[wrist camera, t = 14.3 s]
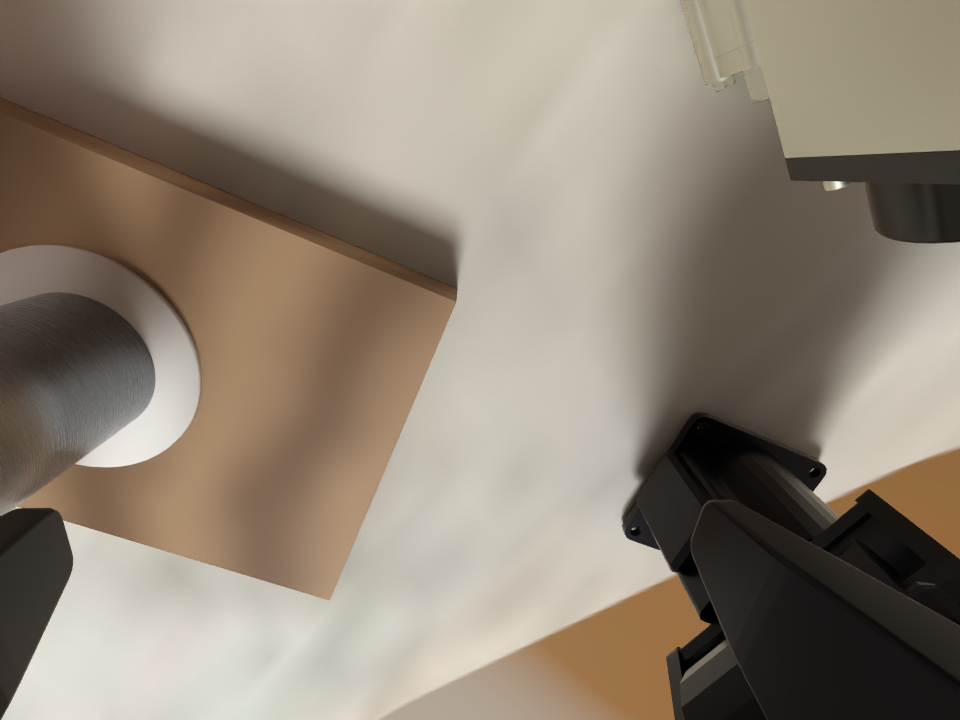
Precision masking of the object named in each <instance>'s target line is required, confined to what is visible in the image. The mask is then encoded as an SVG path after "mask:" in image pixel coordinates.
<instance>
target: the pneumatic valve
mask: <svg viewBox="0 0 960 720" xmlns="http://www.w3.org/2000/svg"><path fill="white" fill-rule="evenodd" d="M681 2H682V5H683V9H684V12H685V15H686V19H687V22H688V26H689V29H690V32H691V36H692V39H693V42H694V46H695V49H696V53H697V56H698V59H699V63H700V66H701V69H702V73H703V76H704V80H705V83H706V85H708V84H712V86H713V85H714V87H715V90H716V92H717V91H720V90H722V89H724V88H726V87H728V86H730V85H732V84H734V83H735V79H734V76H733V75H735V74H736V73H738V72H741V71H743V73H744V77H745V81H746V85H747V88H748V92H749V96H750V99H751V102H752V103H758V102H761V101H764V100H767V99H770V102H771V106H772V110H773V113H774V117H775V121H776V125H777V129H778V133H779V137H780V141H781V144H782V148H783V152H784V156H785V160H786V164H787V168H788V172H789V175H790V179H791V180H798V181H822V182H823V186H824V190H826V191H834V190H838V189H841V188H844V187H846V186H848V185H849V184H851V182H865V187H866V192H867V197H868V201H869V206H870V211H871V216H872V221H873V226H874V228H875V230H876V231H877V232H878V233H879V234H881V235H882V236H884V237H886V238H889V239H892V240H896V241H901V242H910V243H934V244H935V243H956V242H960V0H681Z"/></svg>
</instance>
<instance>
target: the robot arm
mask: <svg viewBox="0 0 960 720" xmlns="http://www.w3.org/2000/svg"><path fill="white" fill-rule="evenodd" d="M703 422H705V426H704V427H703V428H700V429H697V427H698V425H699V424H700V423H703ZM813 468H814V470H813V471H812V472H809V471H810V470H811V469H813ZM826 470H827V469H826V467H825V465H824V464H822V463H821V462H820V461H819V460H817V459H816V458H814V457H811V456H809V455H806V454H804V453H801V452H799V451H796V450H794V449H792V448H789V447H787V446H784V445H782V444H779V443H777V442H775V441H772V440H770V439H767V438H765V437H762V436H760V435H757V434H755V433H753V432H750V431H748V430H745V429H743V428H740V427H738V426H736V425H733V424H731V423H728V422H726V421H723V420H721V419H718V418H716V417H714V416H711V415H709V414H706V413H702V412H701V413H696V414H694V415H692V416H691V417H690V418H689V420H688V421H687V423H686V424H685V426H684V428H683V429H682V431H681V432H680V434H679V435H678V437H677V439H676V440H675V442H674V443H673V445H672V446H671V448H670V450H669V451H668V453H666V454H665V455H664V456H663V457H662V459H661V460H660V462H659V463H658V465H657V467H656V468H655V470H654V471H653V473H652V475H651V476H650V478H649V479H648V481H647V482H646V484H645V486H644V487H643V489H642V490H641V492H640V493H639V495H638V497H637V498H636V503H635V505H634V506H633V508H632V509H631V511H630V512H629V514H628V516H627V517H626V519H625V520H624V522H623V525H622V528H623V531H624V533H625V535H626V537H627V538H628V539H630V540H632V541H635V542H638V543H641V544H644V545H647V546H649V547H652V548H655V549H658V550H661V552H662V554H663V556H664V558H665V560H666V562H667V564H668V566H669V568H670V570H671V571H672V572H675V573H677V575H678V577H679V579H680V581H681V582H682V584H683V586H684V588H685V590H686V592H687V594H688V596H689V598H690V600H691V602H692V604H693V606H694V608H695V609H696V612H697V613H698V615H699V617H700V619H701V620H703V621H704V622H707V623H710V625H709V626H708V627H706V628H705V629H704V630H703V631H702V632H700V633H699V634H698V635H697V636H696V637H694V638H693V639H692V640H691V641H690V642H688V643H687V644H686V645H685V646H683V647H682V648H680V647H677V648H676V649H675V650H673V651H672V652H671V653H670V654H669V655H667V656H666V659H667V666H668V674H669V680H670V687H671V695H672V702H673V709H674V715H675V720H960V559H959V558H957V557H956V556H955V555H953V554H952V553H951V552H950V551H948V550H947V549H946V548H945V547H943V546H942V545H941V544H939V543H938V542H937V541H936V540H934V539H933V538H932V537H930V536H929V535H928V534H926V533H925V532H924V531H923V530H921V529H920V528H919V527H917V526H916V525H915V524H914V523H912V522H911V521H910V520H908V519H907V518H906V517H905V516H903V515H902V514H901V513H899V512H898V511H897V510H895V509H894V508H893V507H892V506H890V505H889V504H888V503H886V502H885V501H884V500H883V499H881V498H880V497H879V496H877V495H876V494H875V493H873V492H872V491H871V490H870V489H868V490H867V491H865V492H864V493H863V494H862V495H861V496H859V497H858V498H857V499H856V500H855V501H856V502H857V504H856V505H855V506H853V507H852V508H851V509H849V510H848V511H847V512H846V513H845V514H843V515H842V516H841V517H839V516H838V515H837V514H836V513H835V512H834V511H832V509H830V508H829V507H828V506H827V505H826V504H825V503H824V502H823V501H822V500H821V499H820V498H819V497H818V496H817V495H815V494H814V493H813V491H814V490H815V488H816V487H817V486H818V484H819V483H820V482H821V480H822V479H823V478H824V476H825V475H826ZM636 526H637V527H638V528H637V529H635V530H631V529H632V528H633V527H636ZM72 567H73V555H72V551H71V547H70V544H69V540H68V537H67V533H66V530H65V526H64V523H63V519H62V516H61V514H60V513H59V512H58V511H57V510H56V509H53V508H20V509H15V510H12V511H10V512H8V513H6V514H4V515H2V516H0V720H1V719H2V717H3V715H4V713H5V712H6V710H7V708H8V706H9V704H10V702H11V700H12V698H13V696H14V694H15V692H16V690H17V688H18V686H19V684H20V682H21V680H22V678H23V676H24V674H25V672H26V670H27V667H28V665H29V663H30V661H31V659H32V657H33V655H34V652H35V650H36V648H37V646H38V644H39V642H40V640H41V637H42V635H43V633H44V631H45V629H46V627H47V625H48V622H49V620H50V618H51V616H52V614H53V612H54V610H55V608H56V605H57V603H58V601H59V599H60V597H61V595H62V593H63V590H64V588H65V586H66V584H67V582H68V580H69V577H70V575H71V571H72Z"/></svg>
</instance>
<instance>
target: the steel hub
mask: <svg viewBox="0 0 960 720" xmlns="http://www.w3.org/2000/svg"><path fill="white" fill-rule="evenodd" d="M155 382H156V381H155V368H154V363H153V360H152V357H151V354H150V352H149V350H148V348H147V346H146V344H145V342H144V341H143V339H142V337H141V336H140V335H139V334H138V332H137V331H136V330H135V328H134V327H133V326H132V325H131V324H130V323H129V322H128V321H127V320H126V319H124V318H123V317H122V316H121V315H120V314H118V313H117V312H115V311H114V310H113V309H111V308H110V307H108V306H106V305H104V304H102V303H100V302H98V301H96V300H93V299H91V298H88V297H85V296H82V295H78V294H72V293H65V292H52V293H44V294H39V295H35V296H32V297H28V298H25V299H21V300H18V301H14V302H11V303H7V304H4V305H0V516H2V515H4V514H6V513H8V512H10V511H12V510H13V509H15V508H16V507H17V506H19V505H20V504H21V503H23V502H24V501H25V500H27V499H28V498H29V497H31V496H32V495H33V494H35V493H36V492H38V491H39V490H40V489H42V488H43V487H44V486H46V485H47V484H48V483H50V482H51V481H52V480H54V479H55V478H56V477H58V476H59V475H61V474H62V473H63V472H65V471H66V470H67V469H69V468H70V467H71V466H73V465H74V464H75V463H77V462H78V461H79V460H81V459H82V458H84V457H85V456H86V455H88V454H89V453H90V452H92V451H93V450H94V449H96V448H97V447H98V446H100V445H101V444H102V443H104V442H105V441H107V440H108V439H109V438H111V437H112V436H113V435H115V434H116V433H117V432H119V431H120V430H121V429H123V428H124V427H126V426H127V425H128V424H130V423H131V422H132V421H134V420H135V419H136V418H138V417H139V416H140V415H141V414H142V413H143V412H144V411H145V409H146V408H147V407H148V405H149V403H150V401H151V399H152V397H153V393H154V390H155Z"/></svg>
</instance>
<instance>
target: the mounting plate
mask: <svg viewBox="0 0 960 720" xmlns="http://www.w3.org/2000/svg"><path fill="white" fill-rule="evenodd" d="M52 292H65V293H72V294H78V295H82V296H85V297H88V298H91V299H93V300H96V301H98V302H100V303H102V304H104V305H106V306H108V307H110V308H111V309H113V310H114V311H115V312H117V313H118V314H120V315H121V316H122V317H123V318H124V319H126V320H127V321H128V322H129V323H130V324H131V325H132V326H133V327H134V328H135V330H136V331H137V332H138V334H139V335H140V336H141V337H142V339H143V341H144V342H145V344H146V346H147V348H148V350H149V352H150V354H151V357H152V360H153V363H154V368H155V381H156V382H155V390H154V393H153V397H152V399H151V401H150V403H149V405H148V407H147V408H146V409H145V411H144V412H143V413H142V414H141V415H140V416H139V417H138V418H136V419H135V420H134V421H132V422H131V423H130V424H128V425H127V426H126V427H124V428H123V429H121V430H120V431H119V432H117V433H116V434H115V435H113V436H112V437H111V438H109V439H108V440H107V441H105V442H104V443H102V444H101V445H100V446H98V447H97V448H96V449H94V450H93V451H92V452H90V453H89V454H88V455H86V456H85V457H84V458H82V459H81V460H79V461H78V462H77V463H75V464H74V465H73V466H71V467H70V468H69V469H67V470H66V471H65V472H63V473H62V474H61V475H59V476H58V477H56V478H55V479H54V480H52V481H51V482H50V483H48V484H47V485H46V486H44V487H43V488H42V489H40V490H39V491H38V492H36V493H35V494H33V495H32V496H31V497H29V498H28V499H27V500H25V501H24V502H23V503H21V504H20V505H19V506H18V507H21V508H53V509H56V510H57V511H58V512H59V513H60V514H61V516H62V519H63V520H64V521H68V522H71V523H74V524H78V525H81V526H84V527H88V528H91V529H94V530H98V531H101V532H104V533H107V534H111V535H114V536H117V537H121V538H124V539H127V540H131V541H134V542H137V543H141V544H144V545H147V546H151V547H154V548H157V549H161V550H164V551H167V552H171V553H174V554H177V555H181V556H184V557H187V558H191V559H194V560H197V561H200V562H204V563H207V564H210V565H214V566H217V567H220V568H224V569H227V570H230V571H234V572H237V573H240V574H244V575H247V576H250V577H254V578H257V579H260V580H264V581H267V582H270V583H274V584H277V585H280V586H284V587H287V588H290V589H293V590H297V591H300V592H303V593H307V594H310V595H313V596H317V597H320V598H323V599H327V600H330V598H331V596H332V594H333V591H334V589H335V587H336V584H337V582H338V580H339V577H340V575H341V572H342V570H343V568H344V565H345V563H346V561H347V558H348V556H349V554H350V551H351V549H352V547H353V544H354V542H355V539H356V537H357V535H358V532H359V530H360V528H361V525H362V523H363V521H364V518H365V516H366V513H367V511H368V509H369V506H370V504H371V502H372V499H373V497H374V495H375V492H376V490H377V488H378V485H379V483H380V480H381V478H382V476H383V473H384V471H385V469H386V466H387V464H388V462H389V459H390V457H391V454H392V452H393V450H394V447H395V445H396V443H397V440H398V438H399V436H400V433H401V431H402V429H403V426H404V424H405V421H406V419H407V417H408V414H409V412H410V410H411V407H412V405H413V403H414V400H415V398H416V395H417V393H418V391H419V388H420V386H421V384H422V381H423V379H424V377H425V374H426V372H427V369H428V367H429V365H430V362H431V360H432V358H433V355H434V353H435V351H436V348H437V346H438V344H439V341H440V339H441V336H442V334H443V332H444V329H445V327H446V325H447V322H448V320H449V318H450V315H451V313H452V310H453V308H454V306H455V303H456V299H457V288H454V287H452V286H450V285H447V284H445V283H442V282H440V281H438V280H435V279H433V278H430V277H428V276H426V275H423V274H421V273H418V272H416V271H414V270H411V269H409V268H406V267H404V266H402V265H399V264H397V263H394V262H392V261H390V260H387V259H385V258H383V257H380V256H378V255H375V254H373V253H371V252H368V251H366V250H363V249H361V248H359V247H356V246H354V245H351V244H349V243H347V242H344V241H342V240H339V239H337V238H335V237H332V236H330V235H327V234H325V233H323V232H320V231H318V230H316V229H313V228H311V227H308V226H306V225H304V224H301V223H299V222H296V221H294V220H292V219H289V218H287V217H284V216H282V215H280V214H277V213H275V212H272V211H270V210H268V209H265V208H263V207H260V206H258V205H256V204H253V203H251V202H248V201H246V200H244V199H241V198H239V197H237V196H234V195H232V194H229V193H227V192H225V191H222V190H220V189H217V188H215V187H213V186H210V185H208V184H205V183H203V182H201V181H198V180H196V179H193V178H191V177H189V176H186V175H184V174H181V173H179V172H177V171H174V170H172V169H169V168H167V167H165V166H162V165H160V164H158V163H155V162H153V161H150V160H148V159H146V158H143V157H141V156H138V155H136V154H134V153H131V152H129V151H126V150H124V149H122V148H119V147H117V146H114V145H112V144H110V143H107V142H105V141H102V140H100V139H98V138H95V137H93V136H91V135H88V134H86V133H83V132H81V131H79V130H76V129H74V128H71V127H69V126H67V125H64V124H62V123H59V122H57V121H55V120H52V119H50V118H47V117H45V116H43V115H40V114H38V113H35V112H33V111H31V110H28V109H26V108H23V107H21V106H19V105H16V104H14V103H12V102H9V101H7V100H4V99H2V98H0V305H4V304H7V303H11V302H14V301H18V300H21V299H25V298H28V297H32V296H35V295H39V294H44V293H52Z"/></svg>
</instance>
